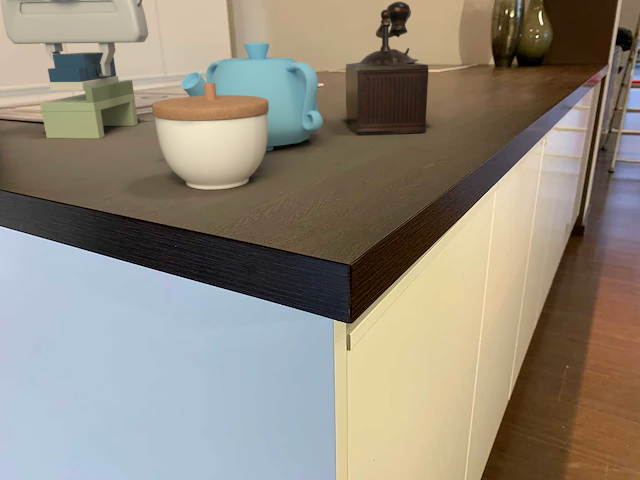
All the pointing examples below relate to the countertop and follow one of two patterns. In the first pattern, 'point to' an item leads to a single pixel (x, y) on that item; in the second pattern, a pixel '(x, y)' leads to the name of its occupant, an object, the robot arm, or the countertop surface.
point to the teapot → (268, 90)
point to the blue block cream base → (78, 72)
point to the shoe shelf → (90, 111)
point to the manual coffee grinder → (387, 84)
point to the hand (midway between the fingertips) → (85, 76)
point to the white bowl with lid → (212, 137)
